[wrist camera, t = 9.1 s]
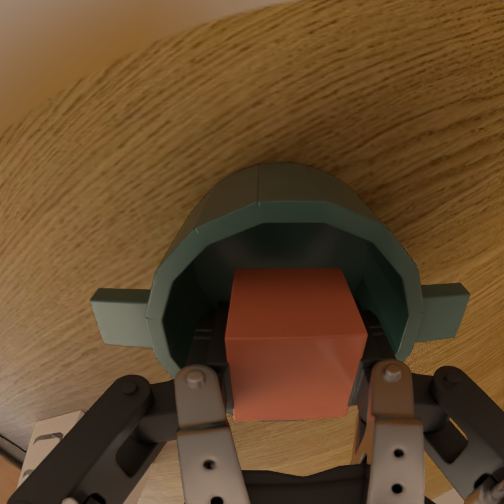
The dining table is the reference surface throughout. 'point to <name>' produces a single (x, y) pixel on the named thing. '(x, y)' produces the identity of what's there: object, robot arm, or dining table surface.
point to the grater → (45, 443)
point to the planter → (9, 469)
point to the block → (292, 343)
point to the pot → (277, 263)
